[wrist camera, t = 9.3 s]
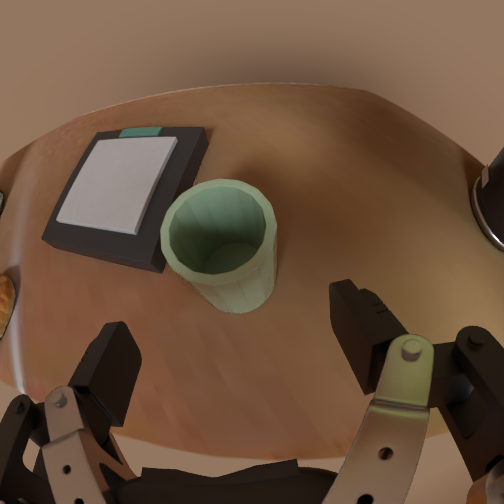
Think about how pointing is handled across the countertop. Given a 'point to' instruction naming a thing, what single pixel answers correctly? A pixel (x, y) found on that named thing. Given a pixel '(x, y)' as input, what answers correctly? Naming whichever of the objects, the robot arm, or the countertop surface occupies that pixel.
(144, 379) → the countertop surface
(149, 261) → the scale
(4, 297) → the pastry
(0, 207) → the coffee jar
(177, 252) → the cup
